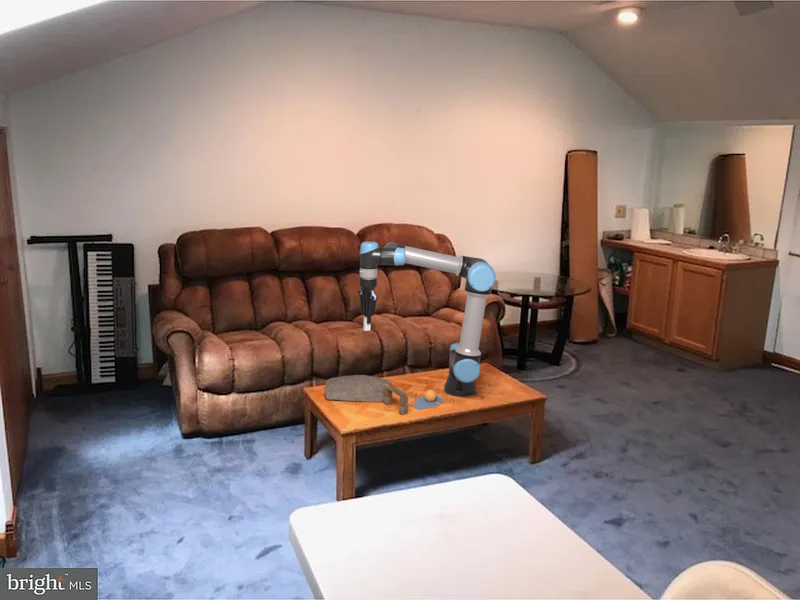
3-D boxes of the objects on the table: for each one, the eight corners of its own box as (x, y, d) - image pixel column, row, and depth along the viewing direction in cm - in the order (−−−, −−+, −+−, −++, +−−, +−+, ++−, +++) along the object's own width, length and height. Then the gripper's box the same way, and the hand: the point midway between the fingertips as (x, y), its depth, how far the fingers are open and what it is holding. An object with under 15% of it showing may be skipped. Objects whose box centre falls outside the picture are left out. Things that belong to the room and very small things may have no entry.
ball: (433, 395, 311) (430, 385, 309) (440, 399, 306) (437, 389, 304) (423, 401, 309) (420, 391, 306) (430, 405, 304) (427, 395, 302)
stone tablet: (324, 402, 302) (391, 403, 303) (324, 385, 300) (391, 386, 301) (327, 387, 322) (390, 388, 323) (327, 370, 320) (391, 371, 321)
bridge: (389, 402, 304) (390, 383, 302) (407, 413, 292) (408, 393, 290) (383, 403, 302) (384, 384, 300) (401, 415, 290) (402, 394, 288)
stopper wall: (430, 396, 313) (431, 391, 313) (443, 403, 305) (444, 398, 305) (428, 396, 313) (428, 391, 312) (441, 403, 305) (441, 398, 304)
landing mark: (424, 396, 313) (424, 396, 313) (440, 405, 303) (440, 404, 303) (403, 401, 306) (403, 400, 306) (418, 410, 297) (418, 409, 296)
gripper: (353, 275, 297) (352, 327, 303) (368, 281, 287) (367, 334, 292) (368, 274, 301) (366, 325, 307) (383, 279, 291) (381, 332, 296)
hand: (366, 330), depth 299 cm, fingers closed
